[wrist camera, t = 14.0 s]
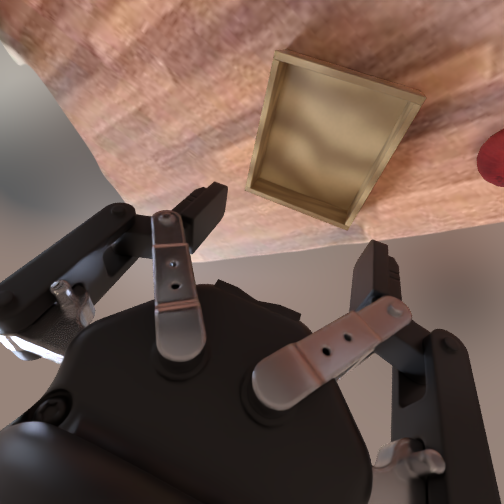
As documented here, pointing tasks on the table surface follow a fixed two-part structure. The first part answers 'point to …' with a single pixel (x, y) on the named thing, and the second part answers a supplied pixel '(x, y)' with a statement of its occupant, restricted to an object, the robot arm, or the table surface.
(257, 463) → the robot arm
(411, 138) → the table surface
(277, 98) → the tray
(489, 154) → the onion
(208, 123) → the table surface
